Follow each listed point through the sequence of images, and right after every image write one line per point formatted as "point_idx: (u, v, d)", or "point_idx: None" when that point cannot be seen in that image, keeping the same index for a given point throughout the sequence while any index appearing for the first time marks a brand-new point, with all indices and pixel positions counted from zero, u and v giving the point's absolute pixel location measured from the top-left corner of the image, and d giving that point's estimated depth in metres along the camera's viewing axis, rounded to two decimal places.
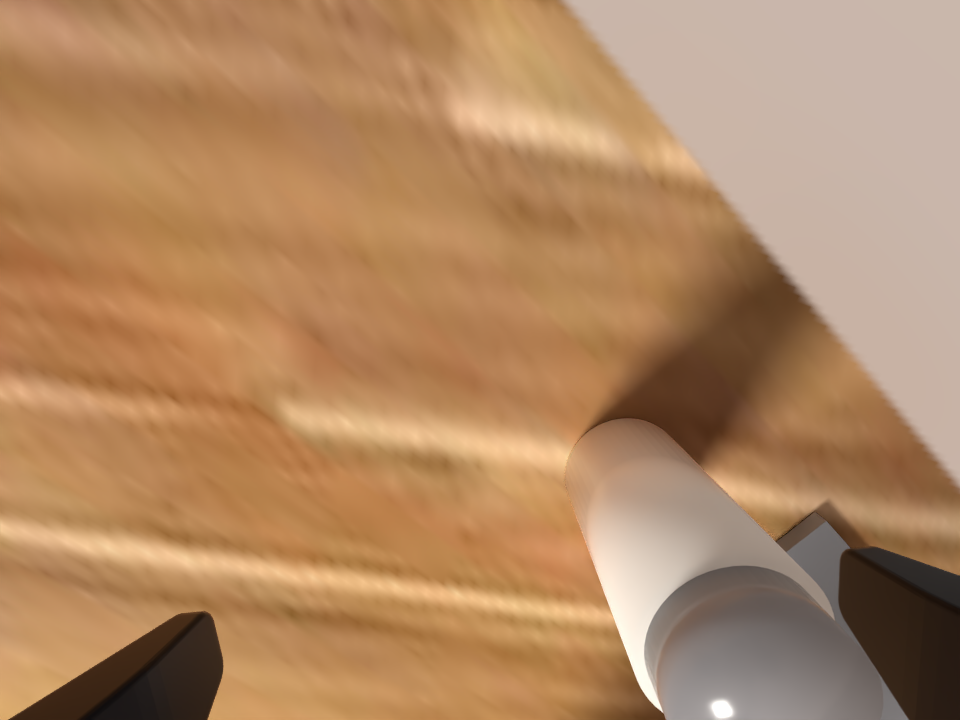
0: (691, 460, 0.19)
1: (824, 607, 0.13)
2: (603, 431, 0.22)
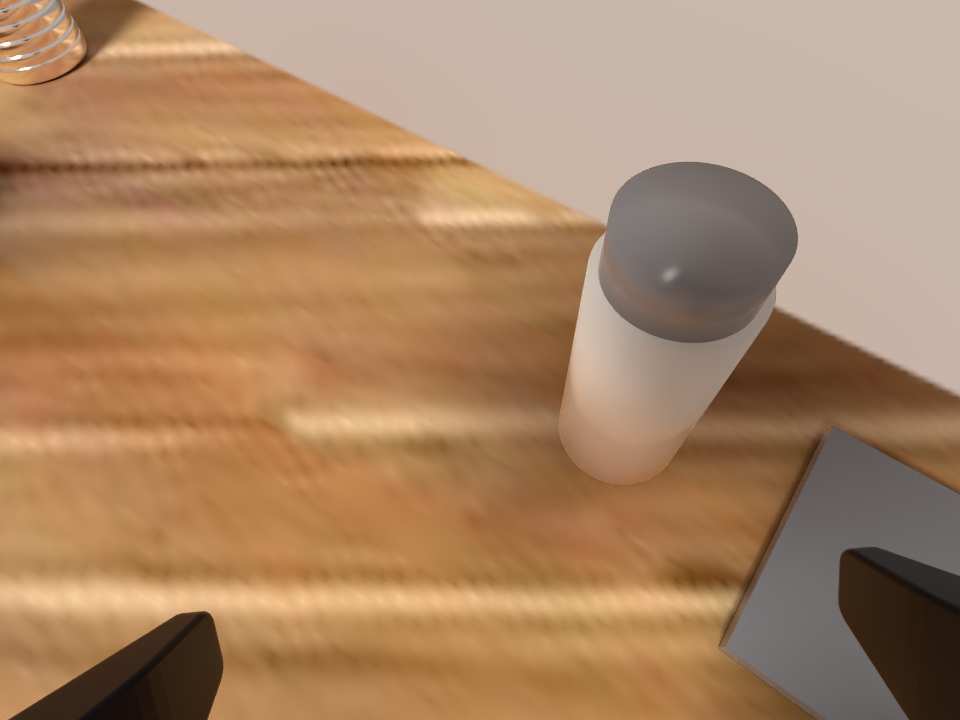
0: None
1: None
2: None
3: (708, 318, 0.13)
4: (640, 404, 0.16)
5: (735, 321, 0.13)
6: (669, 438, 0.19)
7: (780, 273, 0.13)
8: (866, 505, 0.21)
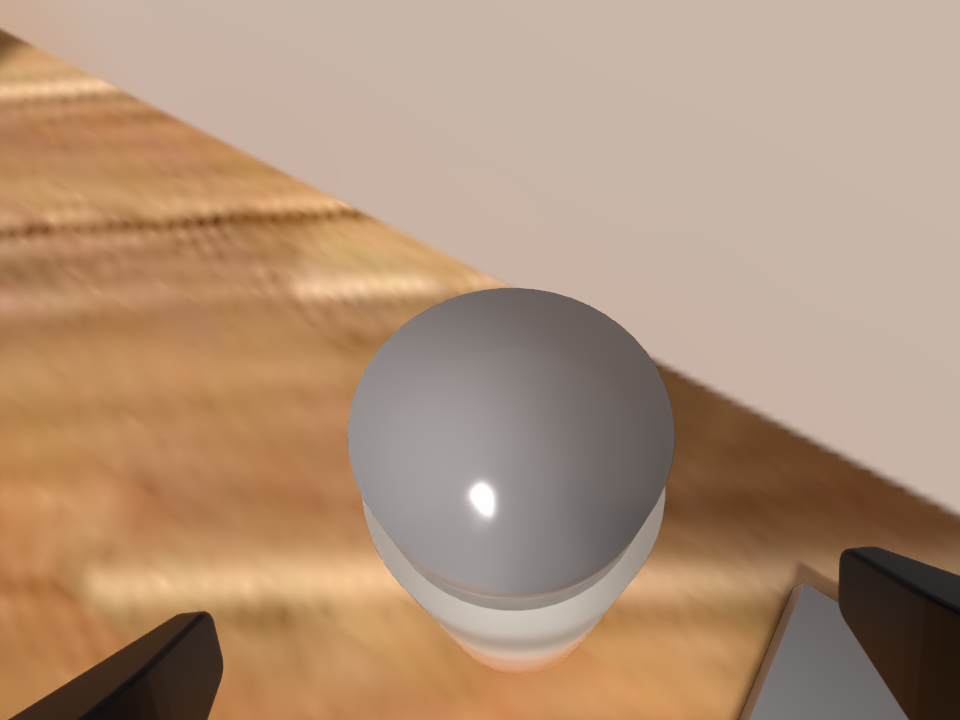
0: None
1: None
2: None
3: (517, 597, 0.07)
4: (478, 646, 0.11)
5: (574, 589, 0.07)
6: (552, 657, 0.13)
7: (635, 530, 0.07)
8: (853, 711, 0.15)
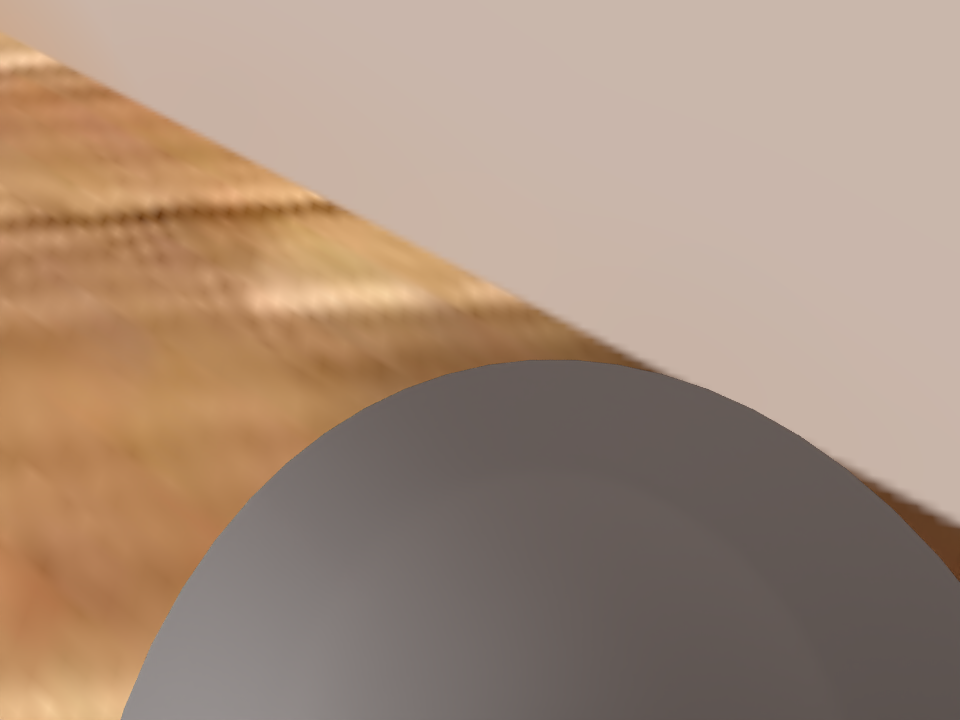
0: None
1: None
2: None
3: None
4: None
5: None
6: None
7: None
8: None
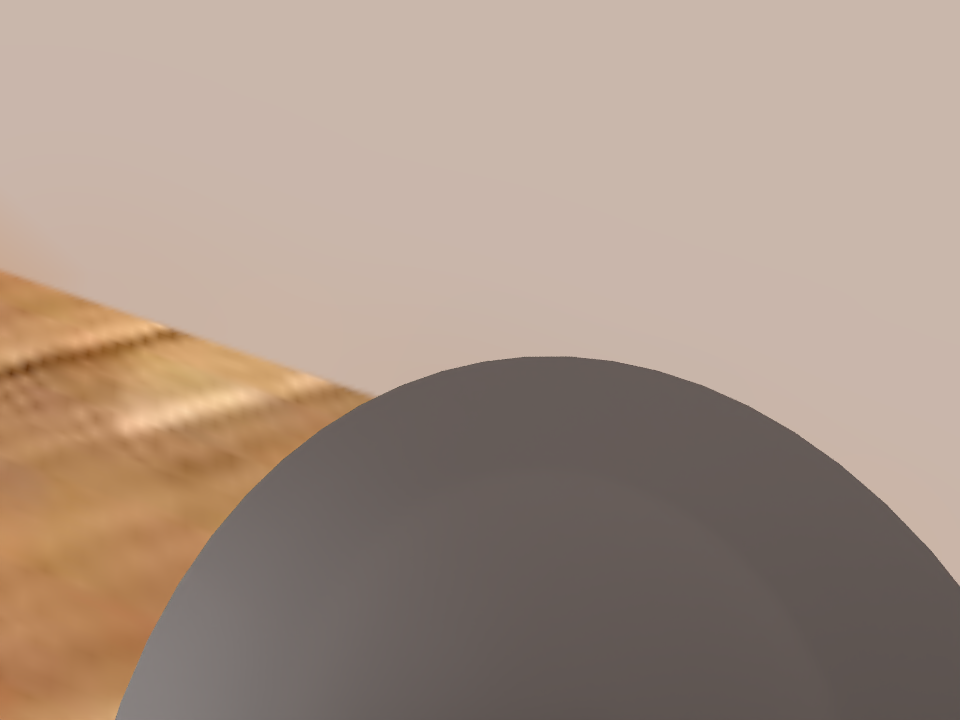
0: None
1: None
2: None
3: None
4: None
5: None
6: None
7: None
8: None
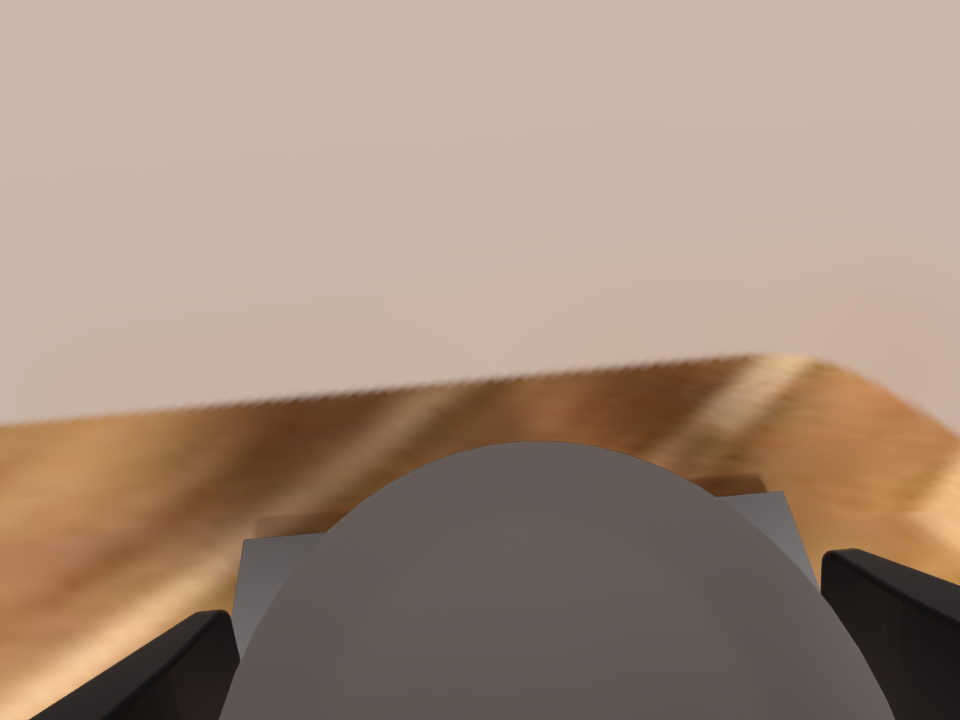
0: None
1: None
2: None
3: None
4: None
5: None
6: None
7: None
8: None
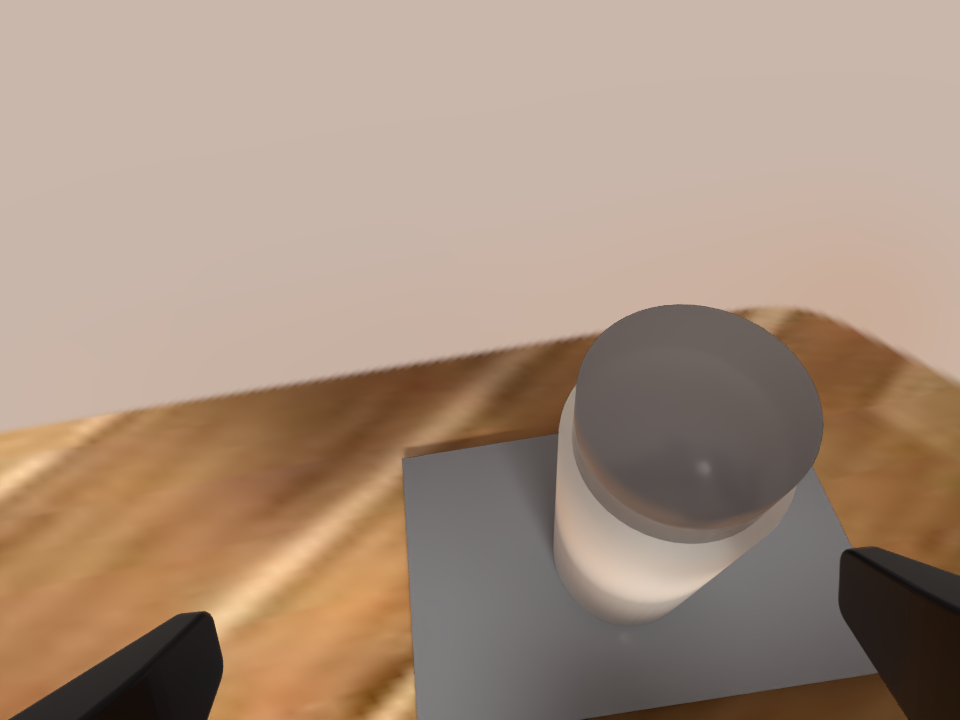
0: None
1: None
2: None
3: (717, 528, 0.10)
4: (642, 585, 0.13)
5: (752, 520, 0.10)
6: (683, 598, 0.15)
7: (807, 471, 0.09)
8: (457, 507, 0.22)
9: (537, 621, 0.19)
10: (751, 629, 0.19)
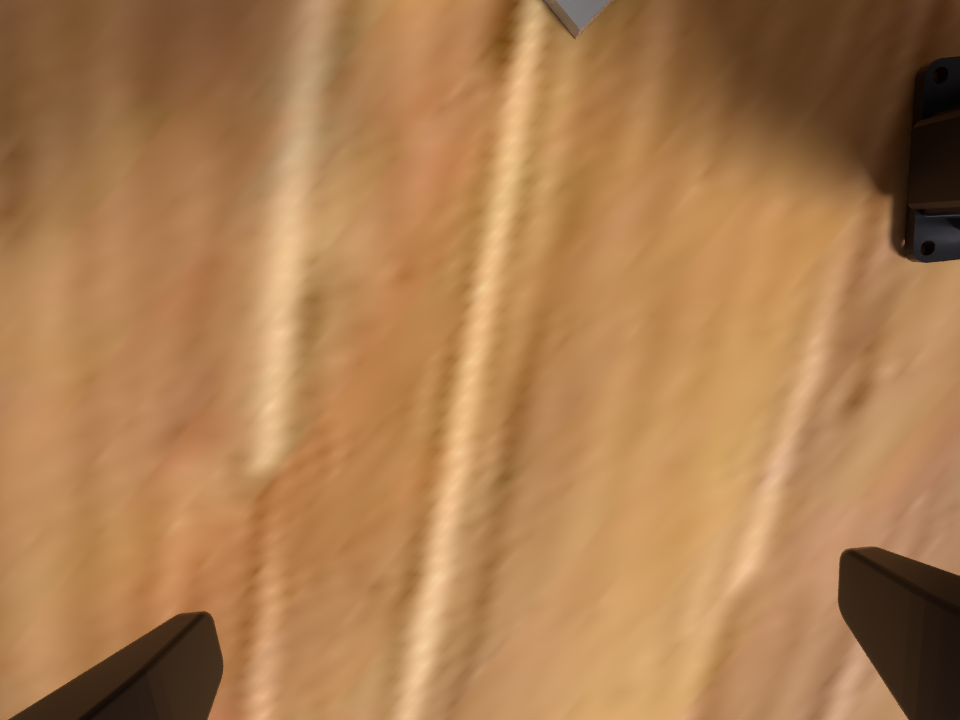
0: None
1: None
2: None
3: None
4: None
5: None
6: None
7: None
8: None
9: None
10: None
